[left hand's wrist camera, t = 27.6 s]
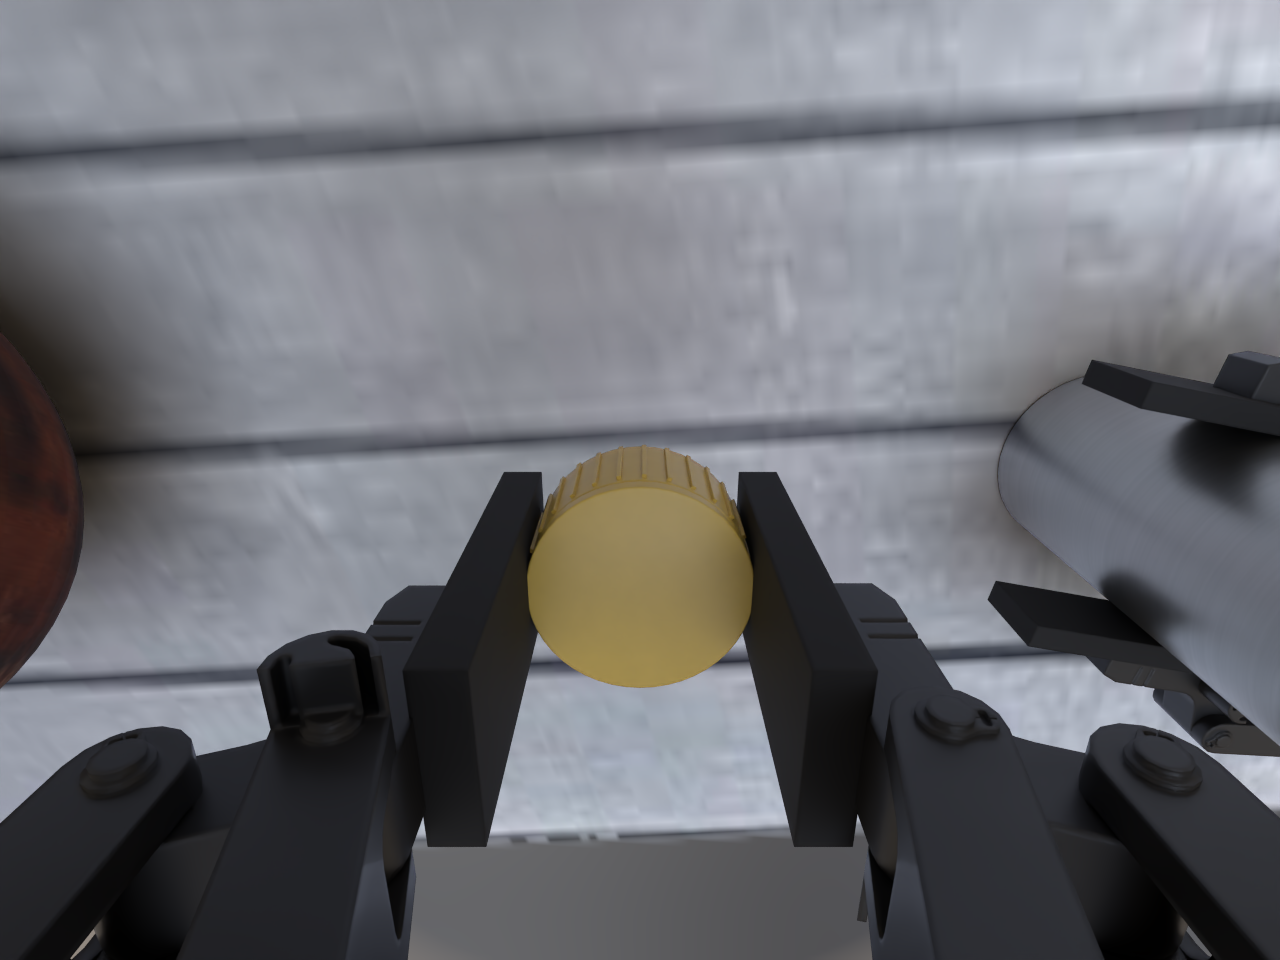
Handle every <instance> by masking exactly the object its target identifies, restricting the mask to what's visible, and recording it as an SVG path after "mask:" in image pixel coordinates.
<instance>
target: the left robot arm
mask: <svg viewBox="0 0 1280 960" xmlns="http://www.w3.org/2000/svg"><path fill="white" fill-rule="evenodd" d="M737 509H738V512H739V515H740V518H741V521H742V525H743V528H744V531H745V534H746V537H747V538H745V541H746V544H747V547H748V550H749V554H750V559H751V563H752V566H753V589H752V605H751V614H750V618H749V620H748V622H747V624H746V627H745V629H744V631H743V636H744V640H745V644H746V648H747V653H748V657H749V661H750V665H751V669H752V673H753V678H754V682H755V686H756V690H757V694H758V698H759V703H760V707H761V711H762V715H763V719H764V723H765V728H766V732H767V736H768V740H769V744H770V748H771V752H772V757H773V761H774V765H775V769H776V773H777V777H778V782H779V786H780V790H781V794H782V798H783V802H784V807H785V811H786V815H787V819H788V823H789V827H790V832H791V836H792V840H793V844H794V847H853V841H854V834H855V828H856V821H857V814H858V816H859V819H860V822H861V825H862V827H863V830H864V833H865V836H866V839H867V841H868V844H869V846H868V852H867V859H866V865H865V872H864V878H863V884H862V891H861V897H860V904H859V911H858V918H857V920H858V921H863V922H866V921H867V916H868V920H869V929H870V939H871V949H872V959H873V960H1280V818H1279V817H1278V816H1277V815H1276V814H1275V813H1274V812H1273V811H1271V810H1270V809H1269V808H1268V807H1267V806H1266V805H1265V804H1264V803H1263V802H1262V801H1260V800H1259V799H1258V798H1257V797H1256V796H1255V795H1254V794H1253V793H1252V792H1251V791H1250V790H1248V789H1247V788H1246V787H1245V786H1244V785H1243V784H1242V783H1241V782H1240V781H1239V780H1238V779H1236V778H1235V777H1234V776H1233V775H1232V774H1231V773H1230V772H1229V771H1228V770H1227V769H1225V768H1224V767H1223V766H1222V765H1221V764H1220V763H1219V762H1217V761H1216V760H1215V759H1213V758H1212V757H1210V756H1209V755H1208V754H1206V753H1205V752H1204V751H1202V750H1201V749H1199V748H1198V747H1196V746H1194V745H1192V744H1190V743H1188V742H1186V741H1184V740H1182V739H1180V738H1178V737H1176V736H1174V735H1172V734H1170V733H1167V732H1164V731H1161V730H1156V729H1154V728H1149V727H1146V726H1141V725H1131V724H1121V723H1118V724H1113V725H1108V726H1102V727H1100V728H1099V729H1098V730H1096V731H1095V732H1094V733H1093V734H1092V735H1091V736H1090V739H1089V742H1088V746H1087V749H1086V753H1082V752H1077V751H1072V750H1068V749H1063V748H1058V747H1054V746H1049V745H1045V744H1040V743H1035V742H1032V741H1028V740H1025V739H1021V738H1018V737H1015V736H1012V734H1011V731H1010V729H1009V728H1008V726H1007V725H1006V723H1005V722H1004V720H1003V719H1002V718H1001V716H1000V715H999V714H998V713H997V712H996V711H995V710H993V709H992V708H991V707H989V706H988V705H987V704H985V703H984V702H983V701H981V700H979V699H977V698H974V697H972V696H970V695H968V694H966V693H963V692H961V691H958V690H953V688H952V687H951V685H950V684H949V682H948V681H947V679H946V677H945V676H944V674H943V673H942V671H941V670H940V668H939V667H938V665H937V664H936V662H935V660H934V659H933V657H932V656H931V654H930V653H929V651H928V650H927V648H926V647H925V645H924V644H923V642H922V640H921V639H918V634H917V633H916V631H915V630H914V628H913V627H912V625H911V624H910V623H908V621H907V617H906V616H905V614H904V613H903V611H902V610H901V608H900V607H899V605H898V603H897V602H896V600H895V599H893V598H892V597H890V596H889V595H888V594H886V593H885V592H883V591H882V590H881V589H879V588H878V587H876V586H875V585H873V584H872V583H833V581H832V580H831V578H830V576H829V574H828V572H827V570H826V568H825V566H824V564H823V562H822V560H821V558H820V556H819V554H818V552H817V550H816V548H815V546H814V544H813V543H812V541H811V539H810V537H809V535H808V533H807V531H806V529H805V527H804V525H803V523H802V521H801V519H800V517H799V515H798V513H797V511H796V509H795V507H794V505H793V504H792V502H791V500H790V498H789V496H788V494H787V492H786V490H785V488H784V486H783V484H782V482H781V480H780V478H779V476H778V474H777V472H739V479H738V498H737ZM543 512H544V508H543V489H542V472H504V473H503V475H502V477H501V479H500V481H499V483H498V485H497V487H496V489H495V491H494V493H493V495H492V497H491V499H490V501H489V503H488V504H487V506H486V508H485V510H484V512H483V514H482V516H481V518H480V520H479V522H478V524H477V526H476V528H475V530H474V532H473V534H472V536H471V538H470V540H469V542H468V543H467V545H466V547H465V549H464V551H463V553H462V555H461V557H460V559H459V561H458V563H457V565H456V567H455V569H454V571H453V573H452V575H451V577H450V579H449V580H448V582H447V584H446V586H408V587H406V588H405V589H403V590H402V591H401V592H399V593H398V594H396V595H395V596H394V597H392V598H391V599H389V600H388V601H386V602H385V604H384V606H383V607H382V609H381V610H380V612H379V613H378V615H377V616H376V618H375V619H374V621H373V622H374V623H373V625H371V626H370V627H369V629H368V630H367V632H366V633H361V632H357V631H354V630H331V631H326V632H321V633H316V634H311V635H307V636H305V637H302V638H300V639H297V640H295V641H292V642H290V643H287V644H285V645H284V646H282V647H281V648H279V649H278V650H276V651H275V652H273V653H272V654H270V655H269V656H268V657H267V658H266V659H265V660H264V661H263V663H262V664H261V665H260V666H259V668H258V669H257V673H258V677H259V682H260V686H261V690H262V694H263V699H264V703H265V707H266V712H267V716H268V720H269V724H270V729H271V730H270V733H269V735H268V737H267V739H266V740H263V741H259V742H256V743H252V744H249V745H245V746H240V747H236V748H231V749H227V750H222V751H217V752H213V753H208V754H204V755H199V756H196V754H195V751H194V747H193V744H192V740H191V738H189V737H188V736H187V735H186V734H185V733H184V732H183V731H182V730H179V729H174V728H169V727H164V726H160V727H150V728H140V729H136V730H132V731H128V732H126V733H121V734H118V735H115V736H112V737H110V738H108V739H106V740H104V741H102V742H100V743H98V744H96V745H94V746H92V747H90V748H87V749H85V750H84V751H82V752H81V753H80V754H78V755H77V756H76V757H74V758H73V759H72V760H70V761H69V762H67V763H66V764H65V765H63V766H62V767H61V768H60V769H59V770H58V771H57V772H55V773H54V774H53V775H52V776H51V777H50V778H49V779H48V780H47V781H46V782H45V783H44V784H42V785H41V786H40V787H39V788H38V789H37V790H36V791H35V792H34V793H33V794H32V795H30V796H29V797H28V798H27V799H26V800H25V801H24V802H23V803H22V804H21V805H20V806H19V807H17V808H16V809H15V810H14V811H13V812H12V813H11V814H10V815H9V816H8V817H7V818H6V819H4V820H3V821H2V822H1V823H0V960H71V959H70V958H71V957H72V955H73V954H74V953H75V951H76V950H77V949H78V948H79V946H80V945H81V944H82V943H83V941H84V940H85V939H86V938H87V936H88V935H89V934H90V933H91V931H92V930H93V929H94V931H95V933H96V934H95V935H94V936H93V937H92V939H91V940H90V941H89V943H88V944H87V945H86V946H85V948H84V949H82V950H81V951H80V952H79V953H78V954H77V955H76V956H75V957H74V958H73V959H72V960H408V950H409V941H410V931H411V921H412V912H413V902H414V892H415V883H416V873H415V866H414V859H413V852H412V846H413V844H414V841H415V838H416V835H417V832H418V830H419V827H420V824H421V821H422V818H423V817H424V824H425V831H426V838H427V845H428V847H486V846H487V842H488V838H489V833H490V829H491V825H492V821H493V817H494V813H495V809H496V804H497V800H498V796H499V792H500V788H501V784H502V779H503V775H504V771H505V767H506V763H507V759H508V754H509V750H510V746H511V742H512V738H513V734H514V729H515V725H516V721H517V717H518V713H519V709H520V704H521V700H522V696H523V692H524V688H525V684H526V679H527V675H528V671H529V667H530V663H531V659H532V654H533V650H534V646H535V642H536V638H537V634H538V631H537V629H536V627H535V625H534V622H533V620H532V618H531V615H530V611H529V597H528V581H527V571H528V565H529V562H530V559H531V556H532V553H530V547H531V544H532V541H533V538H534V534H535V531H536V528H537V525H538V522H539V519H540V516H541V513H543ZM1188 926H1189V927H1190V928H1191V929H1192V931H1193V932H1194V933H1195V934H1196V936H1197V937H1198V938H1199V939H1200V941H1201V942H1202V943H1203V944H1204V946H1205V947H1206V948H1207V949H1208V950H1209V952H1210V953H1211V954H1212V956H1211V957H1210V956H1208V955H1207V954H1206V953H1205V952H1204V951H1203V950H1202V949H1201V948H1200V947H1199V946H1198V945H1197V944H1196V943H1195V942H1194V940H1193V939H1192V938H1191V937H1190V935H1189V934H1188V933H1187V931H1186V930H1187V927H1188Z"/></svg>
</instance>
